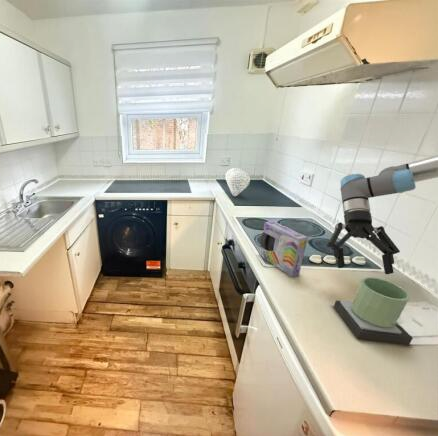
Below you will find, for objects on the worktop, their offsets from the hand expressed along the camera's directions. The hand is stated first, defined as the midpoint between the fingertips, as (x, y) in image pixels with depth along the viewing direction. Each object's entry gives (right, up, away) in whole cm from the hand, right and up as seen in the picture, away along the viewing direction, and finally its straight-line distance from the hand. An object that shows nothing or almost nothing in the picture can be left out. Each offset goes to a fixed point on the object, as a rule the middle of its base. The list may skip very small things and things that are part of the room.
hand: (364, 270), depth 80 cm
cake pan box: (-16, -3, +25) cm, 30 cm away
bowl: (-5, -12, -7) cm, 15 cm away
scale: (-5, -16, -6) cm, 17 cm away
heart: (-1, +36, +118) cm, 124 cm away
